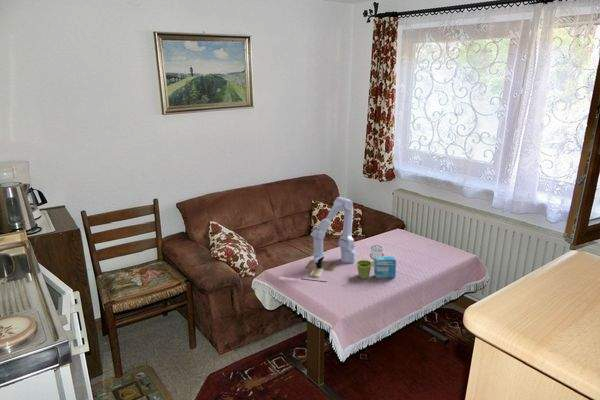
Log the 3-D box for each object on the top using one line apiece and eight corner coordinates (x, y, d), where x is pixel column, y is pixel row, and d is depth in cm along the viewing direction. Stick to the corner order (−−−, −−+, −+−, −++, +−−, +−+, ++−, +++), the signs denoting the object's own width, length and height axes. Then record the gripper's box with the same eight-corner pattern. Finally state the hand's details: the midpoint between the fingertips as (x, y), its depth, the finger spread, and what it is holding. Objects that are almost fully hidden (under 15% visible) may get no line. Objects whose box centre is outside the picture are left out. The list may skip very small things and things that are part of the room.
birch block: (323, 271, 256) (323, 268, 255) (319, 279, 247) (319, 276, 246) (314, 270, 258) (314, 267, 257) (309, 277, 248) (309, 274, 248)
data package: (375, 278, 246) (375, 260, 243) (374, 274, 251) (374, 256, 247) (395, 277, 246) (396, 259, 243) (393, 274, 250) (394, 256, 247)
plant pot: (370, 281, 243) (370, 267, 241) (354, 279, 247) (354, 265, 244) (373, 274, 252) (373, 261, 249) (357, 272, 255) (358, 259, 252)
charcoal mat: (331, 273, 255) (331, 272, 254) (326, 282, 244) (326, 281, 243) (306, 270, 259) (306, 269, 259) (300, 279, 248) (300, 278, 248)
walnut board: (337, 264, 266) (337, 262, 266) (332, 273, 254) (332, 271, 254) (310, 261, 271) (310, 259, 271) (304, 270, 260) (304, 268, 259)
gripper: (315, 243, 261) (315, 262, 265) (308, 252, 248) (309, 272, 252) (326, 243, 259) (326, 263, 263) (320, 253, 246) (320, 274, 250)
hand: (319, 268), depth 257 cm, fingers closed
